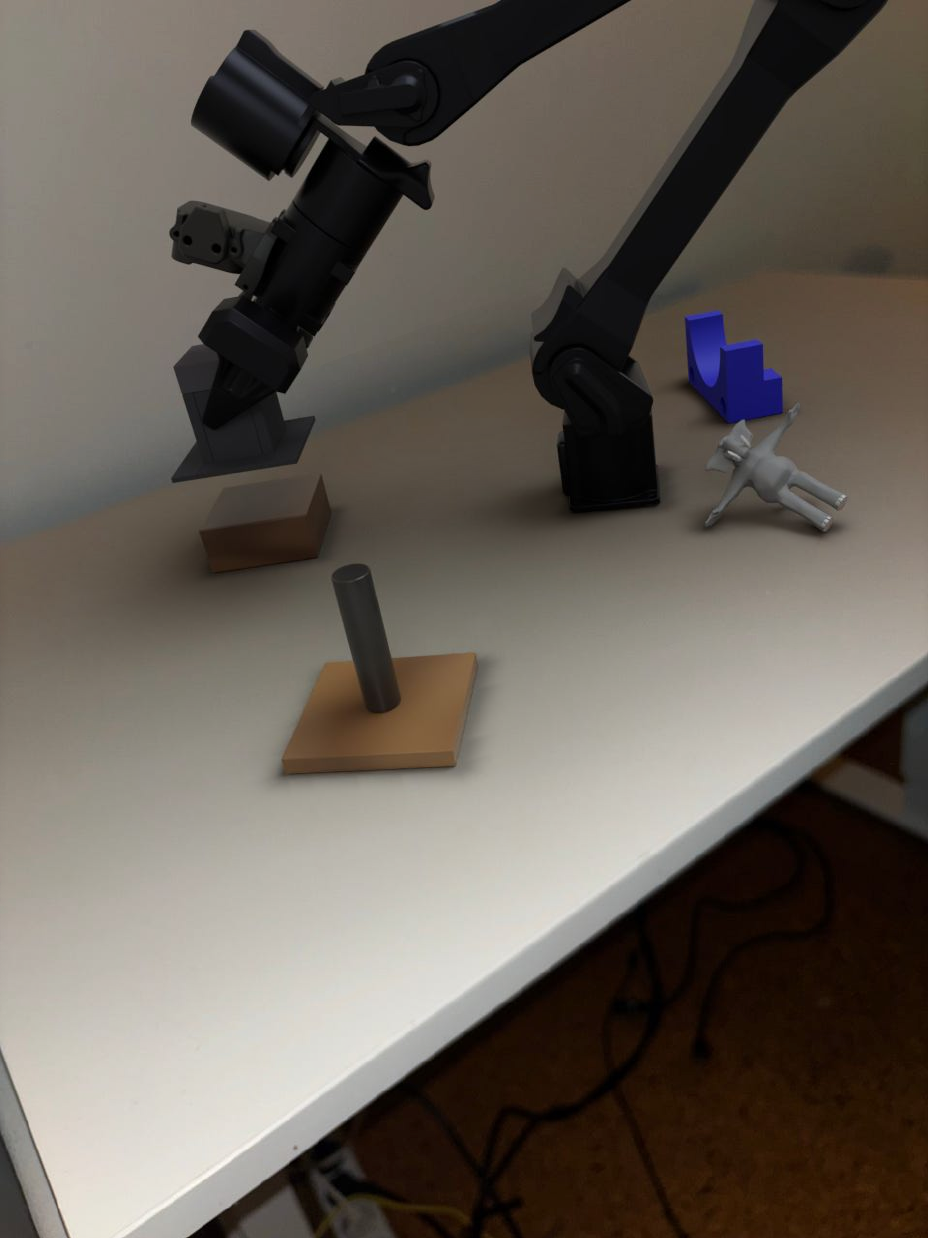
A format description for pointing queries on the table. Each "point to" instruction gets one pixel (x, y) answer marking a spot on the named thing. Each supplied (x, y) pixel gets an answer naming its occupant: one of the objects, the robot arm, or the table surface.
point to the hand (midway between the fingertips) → (216, 412)
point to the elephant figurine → (769, 474)
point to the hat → (234, 427)
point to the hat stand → (380, 697)
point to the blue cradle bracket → (730, 371)
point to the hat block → (266, 523)
